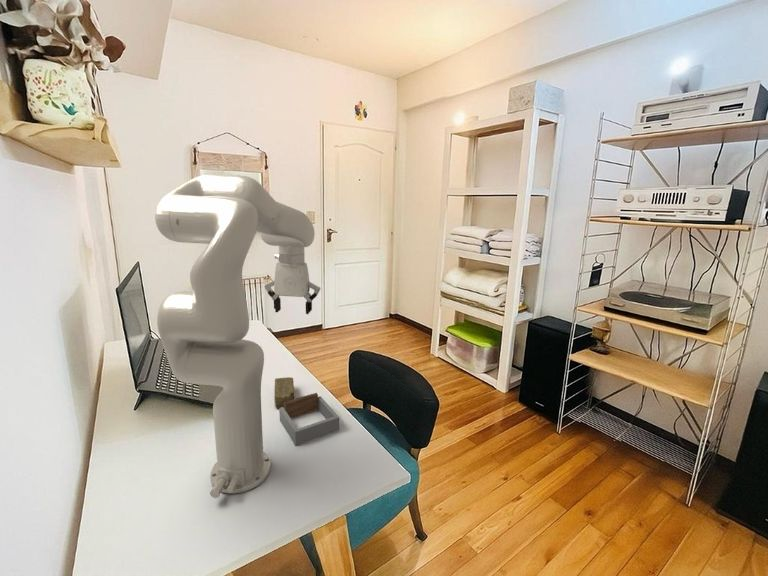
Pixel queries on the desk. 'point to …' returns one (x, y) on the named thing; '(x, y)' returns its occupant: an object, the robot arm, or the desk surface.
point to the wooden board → (301, 405)
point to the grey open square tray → (313, 429)
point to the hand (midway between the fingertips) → (293, 311)
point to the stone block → (283, 391)
